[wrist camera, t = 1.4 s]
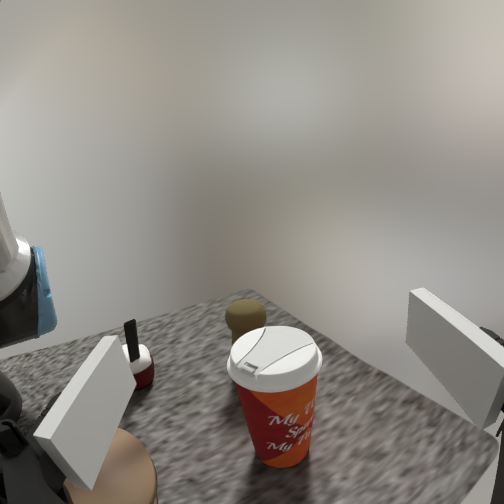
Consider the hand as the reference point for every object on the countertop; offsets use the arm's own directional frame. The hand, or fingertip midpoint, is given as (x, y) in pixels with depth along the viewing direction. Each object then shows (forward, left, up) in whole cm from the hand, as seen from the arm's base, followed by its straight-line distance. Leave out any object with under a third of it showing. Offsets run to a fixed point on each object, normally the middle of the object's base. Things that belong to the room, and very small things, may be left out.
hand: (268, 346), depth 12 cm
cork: (-18, +15, -21) cm, 31 cm away
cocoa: (-29, +2, -21) cm, 36 cm away
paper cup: (-6, +7, -21) cm, 23 cm away
